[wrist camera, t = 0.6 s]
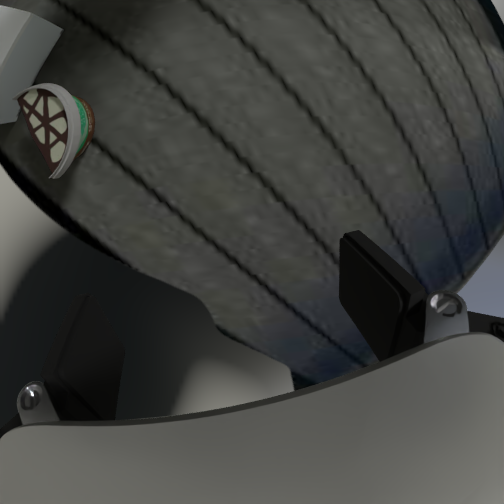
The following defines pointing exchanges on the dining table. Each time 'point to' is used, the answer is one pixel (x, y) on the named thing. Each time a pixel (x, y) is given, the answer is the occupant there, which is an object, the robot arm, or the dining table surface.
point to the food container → (57, 124)
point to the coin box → (21, 55)
